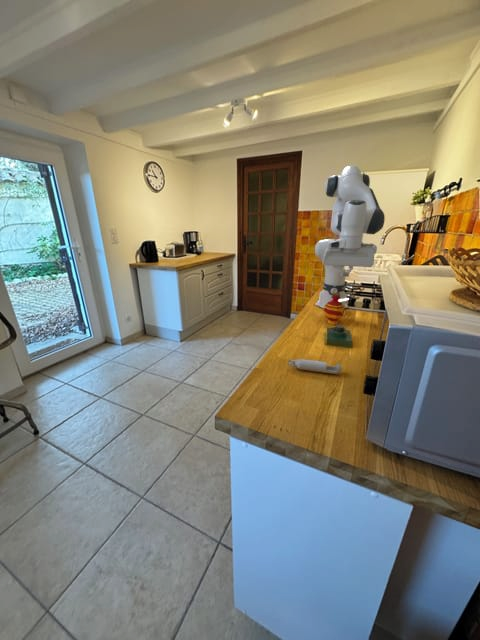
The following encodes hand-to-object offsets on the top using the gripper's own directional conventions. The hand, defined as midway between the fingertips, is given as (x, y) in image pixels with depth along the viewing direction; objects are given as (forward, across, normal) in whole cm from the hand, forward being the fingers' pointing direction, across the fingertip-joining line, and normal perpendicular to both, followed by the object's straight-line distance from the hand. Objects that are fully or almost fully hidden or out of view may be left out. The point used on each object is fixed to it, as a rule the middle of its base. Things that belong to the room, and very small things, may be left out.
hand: (345, 276), depth 110 cm
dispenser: (+26, 0, +10) cm, 28 cm away
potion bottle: (+27, +2, -11) cm, 29 cm away
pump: (+21, 0, +10) cm, 24 cm away
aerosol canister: (+24, +8, +47) cm, 53 cm away
